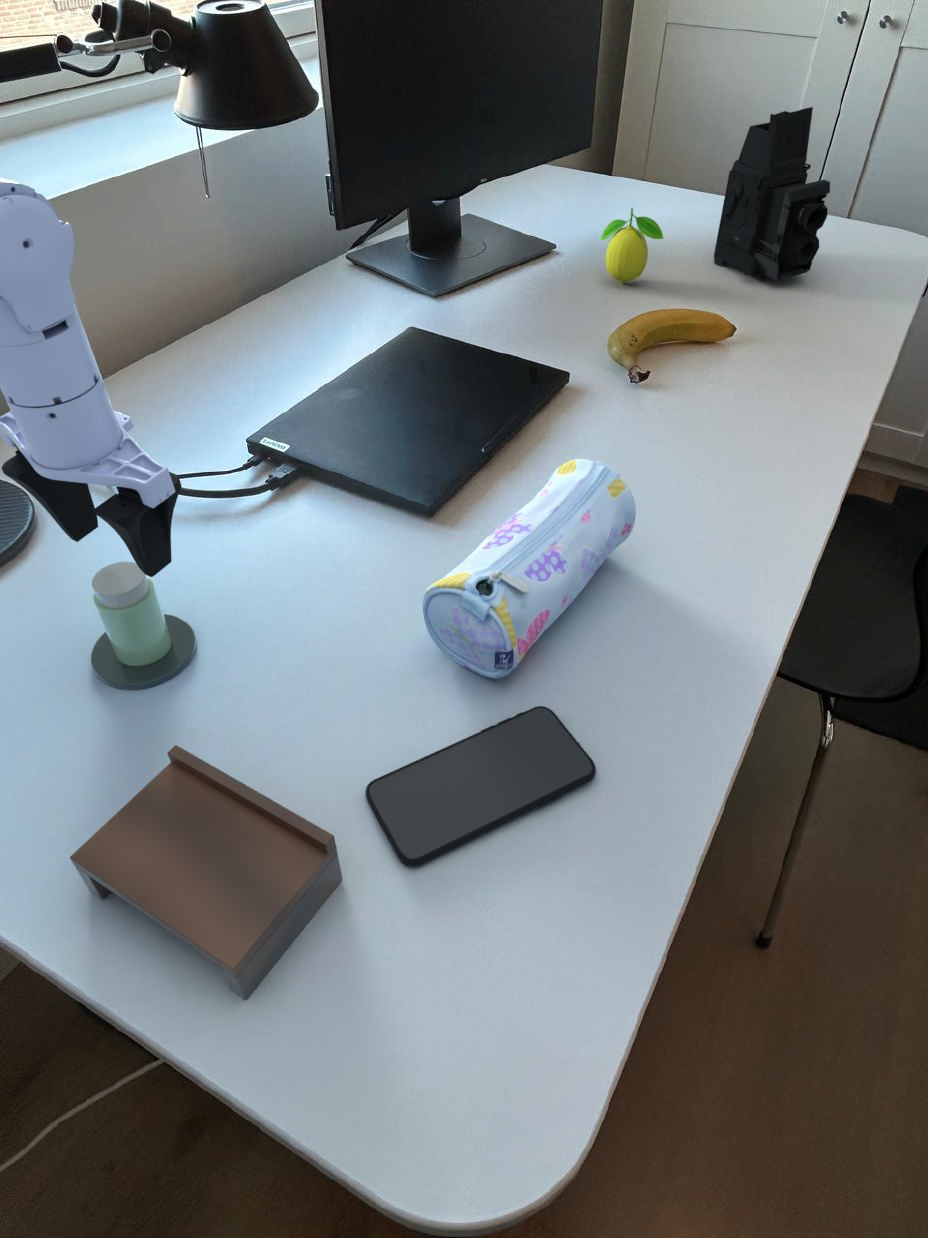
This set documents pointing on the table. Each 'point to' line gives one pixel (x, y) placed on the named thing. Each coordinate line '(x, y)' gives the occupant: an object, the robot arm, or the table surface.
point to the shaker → (131, 614)
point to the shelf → (214, 866)
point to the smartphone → (478, 784)
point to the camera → (772, 202)
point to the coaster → (152, 673)
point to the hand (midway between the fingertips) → (120, 550)
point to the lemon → (629, 247)
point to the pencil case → (529, 569)
